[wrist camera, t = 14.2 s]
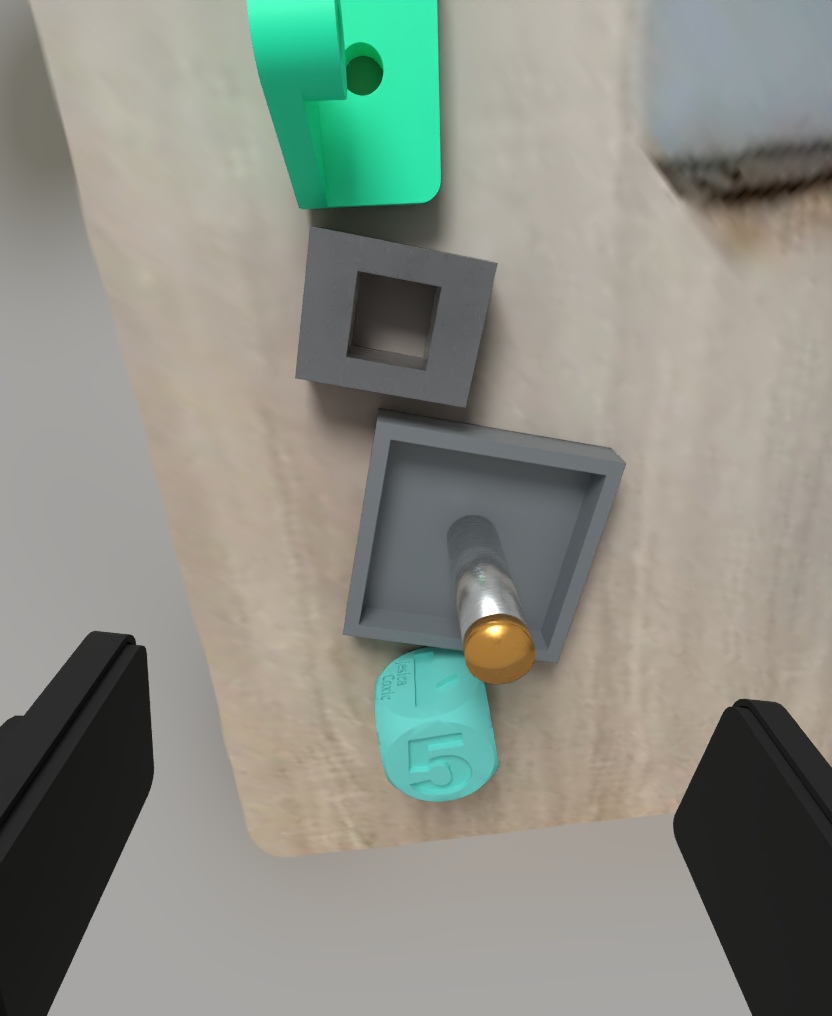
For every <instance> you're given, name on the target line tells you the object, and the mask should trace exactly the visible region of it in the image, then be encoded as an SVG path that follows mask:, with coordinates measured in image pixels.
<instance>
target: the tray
mask: <svg viewBox="0 0 832 1016" xmlns="http://www.w3.org/2000/svg"><path fill="white" fill-rule="evenodd" d="M625 466H626V463H625V462H624V461H623V460H622V459H621V458H620V457H619V456H618V455H617V454H616V453H615V452H614V451H613V450H612V449H611V448H607V447H601V446H595V445H590V444H584V443H578V442H572V441H566V440H560V439H554V438H549V437H543V436H537V435H531V434H525V433H519V432H513V431H508V430H502V429H496V428H490V427H484V426H478V425H472V424H467V423H461V422H455V421H449V420H443V419H437V418H431V417H426V416H420V415H414V414H408V413H402V412H396V411H390V410H385V409H378V415H377V421H376V427H375V434H374V440H373V446H372V453H371V459H370V465H369V471H368V478H367V484H366V490H365V497H364V503H363V509H362V515H361V522H360V528H359V534H358V540H357V547H356V553H355V559H354V566H353V572H352V578H351V584H350V591H349V597H348V603H347V609H346V616H345V623H344V630H343V635H349V636H356V637H364V638H371V639H379V640H386V641H394V642H401V643H409V644H416V645H424V646H431V647H439V648H447V649H454V650H462V651H464V649H463V643H462V636H461V630H460V623H459V617H458V610H457V604H456V597H455V590H454V584H453V577H452V571H451V564H450V558H449V551H448V545H447V533H448V530H449V528H450V527H451V525H452V524H453V523H454V522H455V521H456V520H458V519H460V518H461V517H464V516H468V515H479V516H482V517H485V518H487V519H488V520H490V521H491V522H492V523H493V525H494V526H495V528H496V531H497V534H498V537H499V540H500V543H501V546H502V549H503V552H504V555H505V558H506V562H507V565H508V568H509V571H510V574H511V577H512V580H513V583H514V586H515V589H516V592H517V595H518V598H519V601H520V604H521V608H522V611H523V614H524V617H525V620H526V623H527V626H528V629H529V632H530V635H531V638H532V641H533V644H534V648H535V660H537V661H545V662H552V663H557V662H558V660H559V657H560V654H561V651H562V648H563V645H564V642H565V639H566V636H567V634H568V631H569V628H570V625H571V622H572V619H573V616H574V613H575V610H576V607H577V605H578V602H579V599H580V596H581V593H582V590H583V587H584V584H585V581H586V579H587V576H588V573H589V570H590V567H591V564H592V561H593V558H594V555H595V552H596V550H597V547H598V544H599V541H600V538H601V535H602V532H603V529H604V526H605V524H606V521H607V518H608V515H609V512H610V509H611V506H612V503H613V500H614V498H615V495H616V492H617V489H618V486H619V483H620V480H621V477H622V474H623V471H624V469H625Z"/></svg>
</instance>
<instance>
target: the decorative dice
mask: <svg viewBox="0 0 832 1016" xmlns="http://www.w3.org/2000/svg"><path fill="white" fill-rule="evenodd" d="M375 716H376V727H377V735H378V742H379V749H380V754H381V759H382V763H383V767H384V771H385V774H386V777H387V779H388V781H389V782H390V783H391V784H392V785H393V786H394V787H396V788H397V789H399V790H400V791H402V792H403V793H405V794H407V795H409V796H412V797H414V798H417V799H421V800H425V801H435V802H440V801H450V800H455V799H459V798H462V797H465V796H467V795H469V794H471V793H473V792H474V791H476V790H477V789H479V788H480V787H482V786H483V785H484V784H485V783H486V782H487V781H488V780H489V779H490V778H491V777H492V776H493V774H494V773H495V772H496V770H497V769H498V767H499V762H498V756H497V750H496V744H495V739H494V733H493V727H492V721H491V716H490V710H489V705H488V699H487V694H486V688H485V683H484V682H483V681H481V680H479V679H477V678H476V677H474V676H473V675H472V674H471V673H470V671H469V670H468V668H467V666H466V662H465V656H464V652H463V651H460V650H454V649H447V648H439V647H425V648H420V649H417V650H413V651H411V652H408V653H406V654H404V655H402V656H400V657H399V658H397V659H396V660H394V661H393V662H392V663H391V664H389V665H388V666H387V667H386V668H385V669H384V670H383V672H382V673H381V674H380V676H379V677H378V678H377V680H376V684H375Z"/></svg>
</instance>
